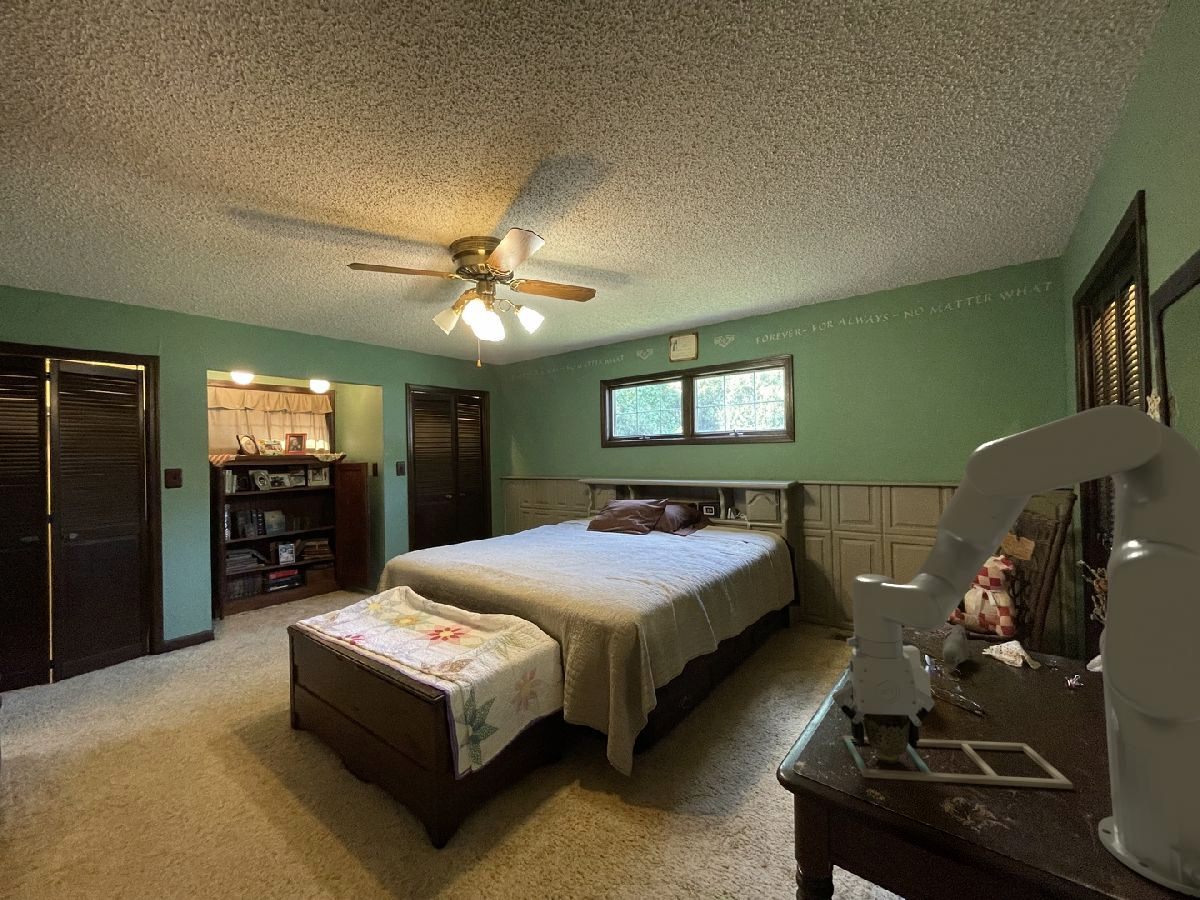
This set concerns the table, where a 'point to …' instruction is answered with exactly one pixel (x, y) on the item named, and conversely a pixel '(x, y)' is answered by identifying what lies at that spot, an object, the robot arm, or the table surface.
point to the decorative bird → (955, 648)
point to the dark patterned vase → (887, 735)
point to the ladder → (989, 778)
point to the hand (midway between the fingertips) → (885, 742)
